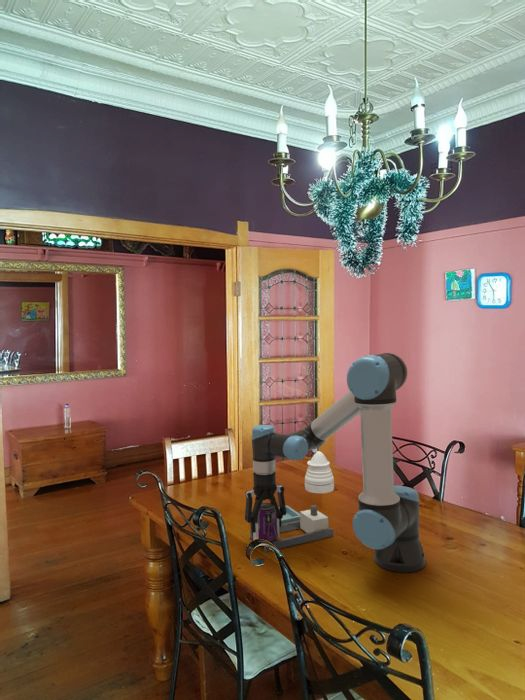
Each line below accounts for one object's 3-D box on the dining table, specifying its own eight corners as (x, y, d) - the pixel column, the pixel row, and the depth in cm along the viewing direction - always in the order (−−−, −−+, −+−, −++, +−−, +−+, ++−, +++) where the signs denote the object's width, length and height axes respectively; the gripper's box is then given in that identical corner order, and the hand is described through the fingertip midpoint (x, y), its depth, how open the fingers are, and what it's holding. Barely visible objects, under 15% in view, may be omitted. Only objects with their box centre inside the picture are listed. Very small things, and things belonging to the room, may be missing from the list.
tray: (303, 523, 188) (302, 516, 188) (273, 530, 183) (273, 522, 183) (287, 513, 199) (287, 505, 199) (259, 518, 194) (259, 511, 194)
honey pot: (301, 491, 224) (300, 450, 223) (309, 482, 236) (309, 444, 234) (329, 494, 219) (329, 453, 218) (337, 485, 231) (336, 446, 230)
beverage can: (275, 545, 168) (273, 509, 168) (254, 544, 170) (252, 508, 169) (278, 536, 175) (277, 502, 175) (258, 535, 177) (257, 501, 176)
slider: (328, 534, 178) (328, 509, 177) (313, 537, 175) (313, 512, 175) (314, 524, 186) (314, 500, 186) (300, 527, 184) (299, 503, 183)
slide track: (333, 536, 177) (333, 529, 177) (265, 552, 166) (265, 544, 166) (314, 523, 188) (314, 517, 188) (250, 537, 177) (250, 530, 177)
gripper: (285, 464, 179) (287, 529, 180) (232, 473, 171) (234, 540, 172) (295, 469, 172) (297, 536, 173) (241, 479, 164) (243, 549, 165)
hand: (266, 538), depth 173 cm, fingers closed on beverage can, 7 cm apart
